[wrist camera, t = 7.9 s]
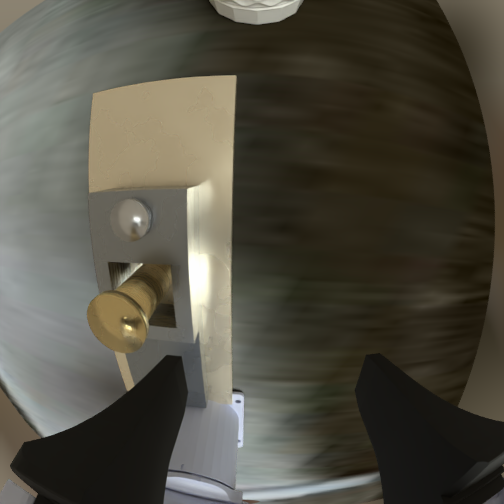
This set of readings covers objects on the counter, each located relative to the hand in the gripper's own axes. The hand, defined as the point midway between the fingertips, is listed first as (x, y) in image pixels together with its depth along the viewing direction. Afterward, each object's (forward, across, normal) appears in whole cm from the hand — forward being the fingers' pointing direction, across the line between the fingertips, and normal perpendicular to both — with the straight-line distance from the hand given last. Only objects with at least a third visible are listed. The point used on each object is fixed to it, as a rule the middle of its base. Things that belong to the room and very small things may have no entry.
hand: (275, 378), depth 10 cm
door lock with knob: (+9, +7, -1) cm, 12 cm away
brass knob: (+8, +7, -1) cm, 11 cm away
